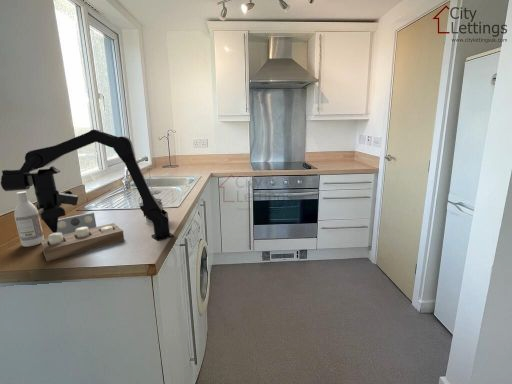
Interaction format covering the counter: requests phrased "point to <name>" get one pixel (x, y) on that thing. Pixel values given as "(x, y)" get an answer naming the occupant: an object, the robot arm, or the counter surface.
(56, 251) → the board
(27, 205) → the bath foam
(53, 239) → the button
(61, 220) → the placard
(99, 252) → the counter surface
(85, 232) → the button middle
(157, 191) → the french press
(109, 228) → the button
